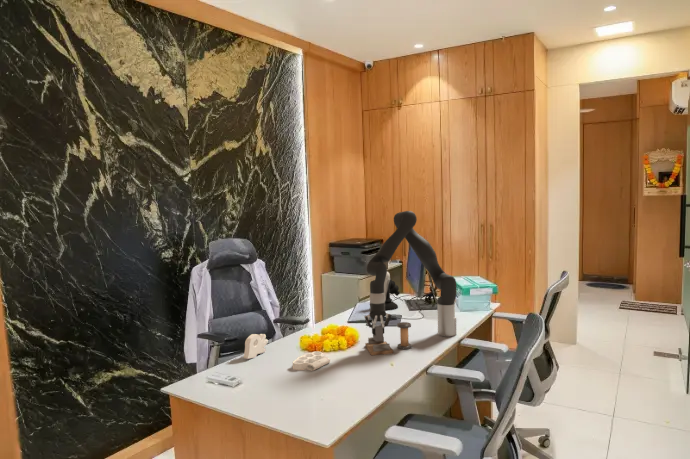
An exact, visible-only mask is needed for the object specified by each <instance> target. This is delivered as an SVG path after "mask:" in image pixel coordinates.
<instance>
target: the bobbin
mask: <svg viewBox="0 0 690 459" xmlns="http://www.w3.org/2000/svg"><path fill="white" fill-rule="evenodd" d="M396 326H397V328H399V331H400V332H399V333H400V334H399V336H400V337H399V339H400V343H398V344H397V349H399V350H402V351H403V350H410V349H412V346H413V345H412V344H411V343H409V342H410V341H409V328H411V327H412V323H411V322H407V321H401V322H397V324H396Z"/></svg>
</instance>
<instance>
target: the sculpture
mask: <svg viewBox="0 0 690 459" xmlns="http://www.w3.org/2000/svg"><path fill="white" fill-rule="evenodd" d="M390 274H391V273H390V272H389V271H387V274H386V278H385V282H384V295H385V311H393V310H394V311H395V310H397V309H398V308H399V306H398V304H397V303H396V302H395V301H393V299H392V298H391V296H390V295H395V296H396V297H398V296H399V295H401V291H399V286H398V285H397V284H396V282H395V281H394V280H393V279H392V278H391V275H390Z"/></svg>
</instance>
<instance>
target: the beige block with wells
mask: <svg viewBox="0 0 690 459" xmlns="http://www.w3.org/2000/svg"><path fill="white" fill-rule="evenodd" d="M329 363H331V359H330V358H329V357H328V356H325V355H324V353H323V352H322V351H312V352H309V353H304V354H303V355H301V356H298V357H296V359H295V360H293V361H292V369H293V370H295V371H303V370H308V371H310V372H311V371H316V370H317V369H319V368H322V367H323V366H325V365H327V364H329Z"/></svg>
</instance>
